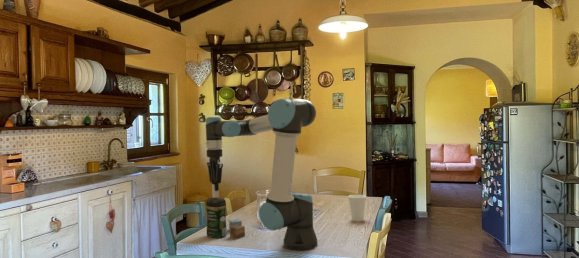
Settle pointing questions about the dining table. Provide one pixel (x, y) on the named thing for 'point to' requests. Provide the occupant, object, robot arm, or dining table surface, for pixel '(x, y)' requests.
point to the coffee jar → (216, 217)
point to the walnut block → (237, 231)
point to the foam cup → (357, 207)
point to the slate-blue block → (234, 223)
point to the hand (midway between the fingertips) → (215, 197)
